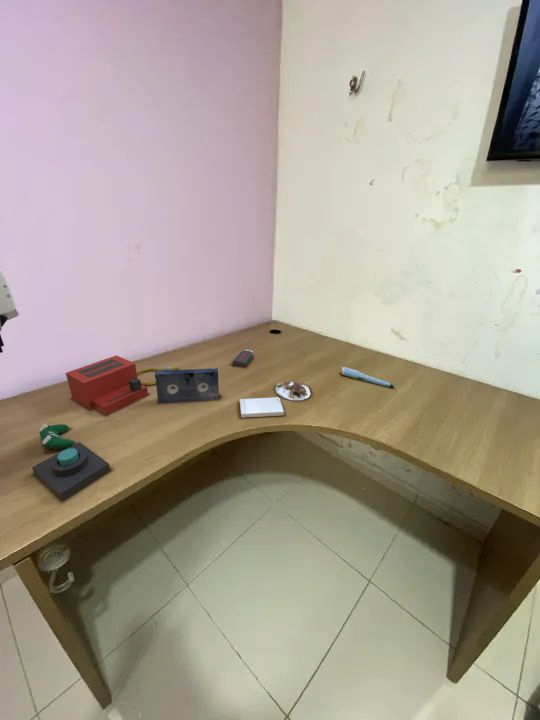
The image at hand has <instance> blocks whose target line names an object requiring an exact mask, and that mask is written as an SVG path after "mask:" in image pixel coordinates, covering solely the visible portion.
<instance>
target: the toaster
mask: <svg viewBox="0 0 540 720" xmlns="http://www.w3.org/2000/svg"><path fill="white" fill-rule="evenodd" d="M137 372H138V371H137V367H136V363H135V362H133V361H131V360H128V359H126V358H124V357H122V356H119V355H114V356H110V357H107V358H105V359H102V360H99V361H96V362H93V363H91V364H87V365H84V366H81V367H79V368H76V369H73V370H70V371H67V372H65V376H66V380H67V383H68V387H69V391H70V394H71V395H70V396H71V398H72V400H73V401H75V402H76V403H78V404H79V405H81V406H83V407H84V408H86V409H88V410H89V411H92V410H95V411H97V412H99V413H101V414H102V415H103V416H106V417H107V416H109V415H111V414H113V413H115V412H117V411H119V410H121V409H123V408H125V407H127V406H129V405H131V404H133V403H135V402H137V401H139V400H142V399H143V398H145V397H147V396H149V391H148V386H144V385H142V384H141V387H142V389H140V390H137V391H133V390H131V389H130V386H129V380H132V379H134V378H137V379H139V378H138V375H137V374H138V373H137Z"/></svg>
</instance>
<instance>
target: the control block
mask: <svg viewBox="0 0 540 720" xmlns="http://www.w3.org/2000/svg"><path fill="white" fill-rule="evenodd" d="M70 448H74V449H76V450H77V452H78V455H79V459H78V461H77V462H75V463H73V464H72V465H68V466H61V465H60V464H59V461H58V454H59V453H60V452H58V453H56V454H54V455H52V456H50V457H48V458H46V459H44V460H43V461H41V462H39V463H37V464H35V465H33V466H31V468H32V472H33V474H34V476H36V478H37V479H39V480H40V481H41V483H43V484H44V485H45V486H46V487H47V488H48V489H49V490H50V491H51V492H52V493H54V495H55V496H57V498H58V499H59V500H61V501H62V502H65V501H66V500H68V499H69V498H71V497H72V496H74V495H75V494H77V493H78V492H80V491H81V490H83V489H84V488H86V487H87V486H89V485H91V484H92V483H93V482H96V481H98V479H101V478H102V477H103V476H104V475H107V474H108V473H109V472H111V468H110V464H109V462H107V461H106V460H105V459H104V458H103V457H101V456H99V455H98V454H97V453H96V452H94V451H92V450H91V449H90V448H88V447H87V446H86V445H85V444H83V443H81V441H79V442H77V443H74V445H73V446H71V447H69V448H66V449H70Z"/></svg>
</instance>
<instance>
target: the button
mask: <svg viewBox="0 0 540 720" xmlns="http://www.w3.org/2000/svg"><path fill="white" fill-rule="evenodd" d="M58 453H59V454H58ZM58 453H57V454H58V461H59V464H60V465H61V466H68V465H72V464H73V463H75V462H77V461H78V459H79V455H78V452H77V450H76V449H74V448H70V449H67V448H65V449H64V450H61V451H59V452H58Z"/></svg>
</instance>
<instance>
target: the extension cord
mask: <svg viewBox="0 0 540 720" xmlns="http://www.w3.org/2000/svg"><path fill="white" fill-rule="evenodd" d="M161 370H170V371H172V370H178V366H177V365H170V366H167V367H164V368H163V369H158V368H155V367H154V368H145V369H142V370H138V371H136V372H137V376H138V375H140V374H143V373H145V372H151V371H154V372H156V371H161ZM141 384H142V385H144V386H146V387H148V386H153V385H156V380H155V381H150V382H141Z"/></svg>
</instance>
